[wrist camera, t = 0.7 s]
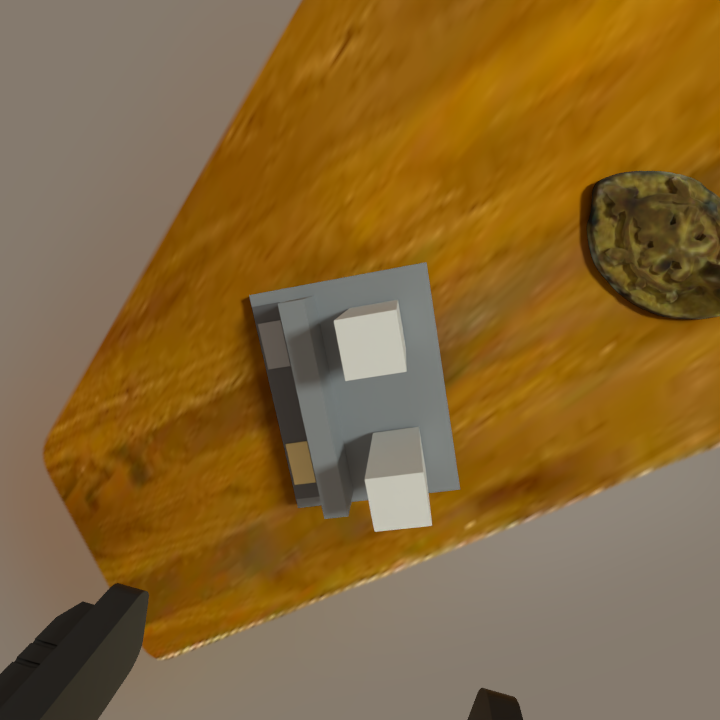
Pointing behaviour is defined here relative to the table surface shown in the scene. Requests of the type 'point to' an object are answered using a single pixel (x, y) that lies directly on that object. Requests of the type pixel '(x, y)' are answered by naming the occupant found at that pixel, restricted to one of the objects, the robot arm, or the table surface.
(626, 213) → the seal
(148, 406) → the table surface
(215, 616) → the table surface
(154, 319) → the table surface
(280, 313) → the plate
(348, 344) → the white rectangular block
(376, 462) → the tall white pillar block
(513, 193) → the table surface
